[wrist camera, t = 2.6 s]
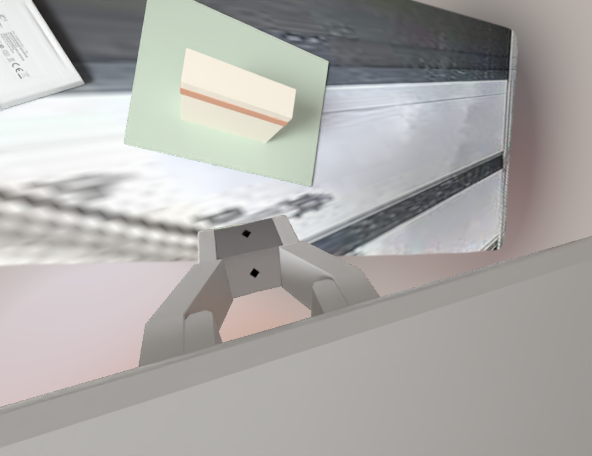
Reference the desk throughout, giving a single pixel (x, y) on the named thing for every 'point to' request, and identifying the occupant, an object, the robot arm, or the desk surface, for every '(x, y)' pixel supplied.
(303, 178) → the mat
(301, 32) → the desk surface
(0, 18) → the external hard drive
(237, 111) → the card box
